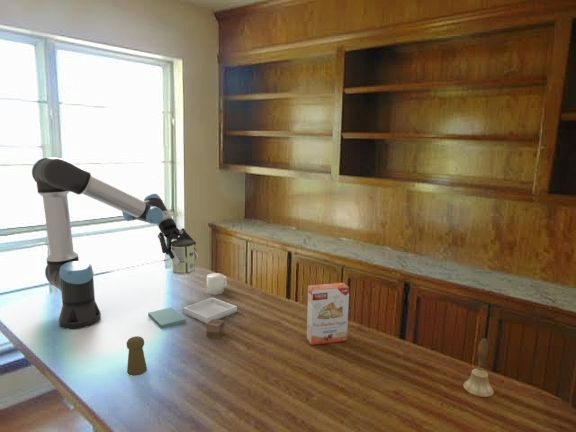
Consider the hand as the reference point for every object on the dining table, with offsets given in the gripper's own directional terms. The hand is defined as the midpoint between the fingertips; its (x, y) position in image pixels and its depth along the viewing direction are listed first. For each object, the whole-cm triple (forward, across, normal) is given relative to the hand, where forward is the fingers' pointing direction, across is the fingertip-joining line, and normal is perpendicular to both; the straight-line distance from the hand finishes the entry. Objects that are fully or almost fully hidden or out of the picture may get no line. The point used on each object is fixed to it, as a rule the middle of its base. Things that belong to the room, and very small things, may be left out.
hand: (187, 261), depth 195 cm
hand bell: (+101, +8, -76) cm, 126 cm away
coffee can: (+2, 0, +6) cm, 6 cm away
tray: (+27, -5, -2) cm, 27 cm away
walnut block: (+39, -17, -14) cm, 45 cm away
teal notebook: (+21, -20, +5) cm, 30 cm away
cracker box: (+64, +6, -39) cm, 75 cm away
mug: (+14, +14, +11) cm, 23 cm away
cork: (+39, -50, -14) cm, 65 cm away
